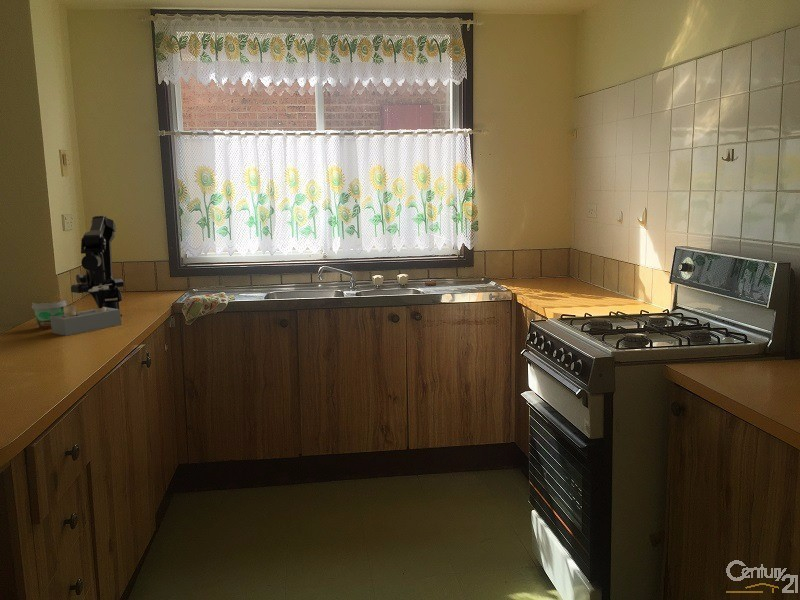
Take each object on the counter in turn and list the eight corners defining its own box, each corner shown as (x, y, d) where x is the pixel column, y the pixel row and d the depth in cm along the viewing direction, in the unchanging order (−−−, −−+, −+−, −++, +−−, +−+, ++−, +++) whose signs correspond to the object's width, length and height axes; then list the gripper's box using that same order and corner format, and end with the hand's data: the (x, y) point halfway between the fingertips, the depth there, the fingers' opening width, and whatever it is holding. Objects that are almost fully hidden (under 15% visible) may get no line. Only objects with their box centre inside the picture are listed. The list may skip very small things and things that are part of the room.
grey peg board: (106, 322, 281) (105, 307, 280) (121, 324, 275) (119, 309, 274) (52, 332, 263) (50, 317, 262) (66, 335, 257) (64, 319, 256)
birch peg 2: (103, 321, 276) (102, 306, 275) (109, 322, 274) (108, 307, 273) (94, 323, 273) (92, 308, 272) (100, 324, 271) (98, 309, 270)
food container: (30, 331, 268) (27, 304, 267) (34, 328, 274) (31, 302, 272) (66, 328, 271) (63, 302, 270) (69, 325, 277) (66, 299, 276)
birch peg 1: (73, 320, 266) (71, 304, 265) (79, 321, 264) (77, 305, 263) (63, 322, 263) (61, 306, 262) (68, 323, 261) (67, 307, 260)
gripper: (106, 263, 282) (110, 302, 285) (60, 269, 267) (65, 310, 270) (122, 264, 275) (126, 304, 278) (76, 270, 261) (81, 312, 263)
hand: (100, 308), depth 273 cm, fingers closed, pressing on birch peg 2
